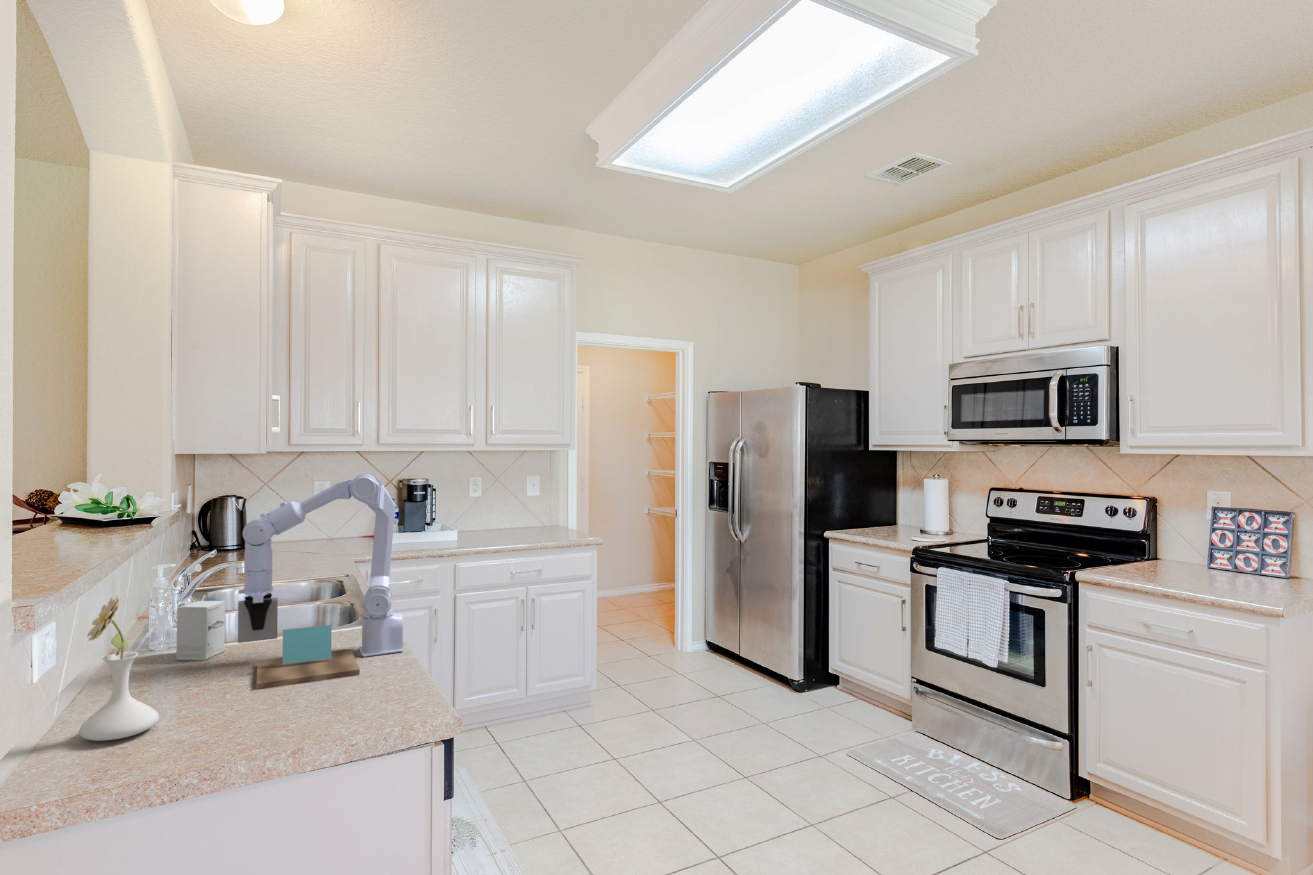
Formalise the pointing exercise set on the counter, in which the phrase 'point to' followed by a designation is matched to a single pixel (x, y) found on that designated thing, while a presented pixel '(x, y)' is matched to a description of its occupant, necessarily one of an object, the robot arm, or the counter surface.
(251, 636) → the grey rectangular block
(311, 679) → the board
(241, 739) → the counter surface
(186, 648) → the supplement box
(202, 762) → the counter surface
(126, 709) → the flower in vase
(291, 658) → the tile
